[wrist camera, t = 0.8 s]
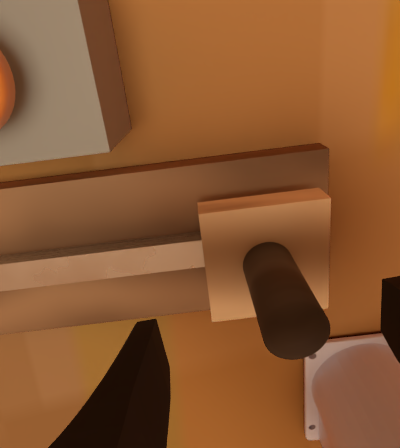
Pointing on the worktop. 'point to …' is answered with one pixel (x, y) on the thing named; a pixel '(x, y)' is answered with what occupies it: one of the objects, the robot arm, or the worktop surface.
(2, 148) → the gauge box
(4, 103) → the button
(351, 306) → the worktop surface
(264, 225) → the carriage
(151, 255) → the guide rail
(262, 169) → the board
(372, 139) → the worktop surface
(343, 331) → the worktop surface
